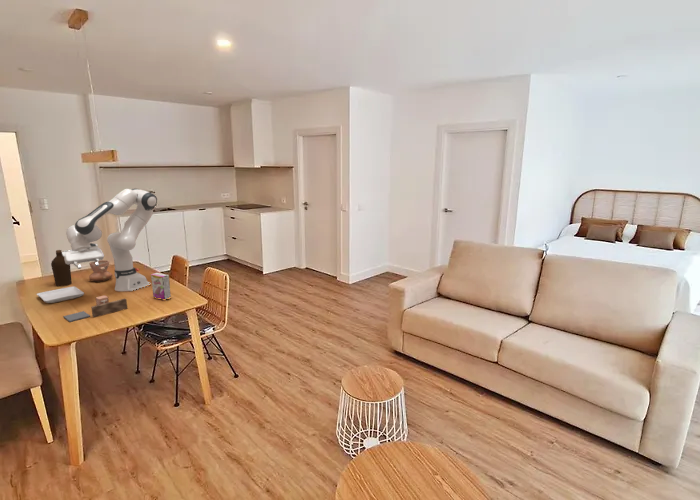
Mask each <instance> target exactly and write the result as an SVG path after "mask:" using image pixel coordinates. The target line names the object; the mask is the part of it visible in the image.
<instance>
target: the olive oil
mask: <svg viewBox="0 0 700 500" xmlns="http://www.w3.org/2000/svg"><path fill="white" fill-rule="evenodd" d="M62 252H63V251H62V249H57V250H55V254H56V255H55V257H54V258H53V259H52V260H51V263H50V267H51V270H52V274H53V279H54V284H55V286H56V287H68V286H70V285H72V284H73V283H72V273H71V264H69V265H67V264H66V263H65V260H64V257H63V255H62Z"/></svg>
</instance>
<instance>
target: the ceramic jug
mask: <svg viewBox="0 0 700 500" xmlns="http://www.w3.org/2000/svg"><path fill="white" fill-rule="evenodd" d="M95 263H97V262H96V261H90V262H89V266H90V269H91V270H92V271H93V272H92V273H91V274H90V275H89V277H88V279H89V280H90V281H91V282H95V283H96V282H97V283H98V282H99V283H100V282H102V283H103V282H106V281H108V280H111V279H112V278H113V273H111V272H110V271H108V268H109V265H110V261H109V260H105V259H102V260H99V261H98V263H99V266H95Z"/></svg>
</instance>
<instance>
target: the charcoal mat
mask: <svg viewBox="0 0 700 500" xmlns="http://www.w3.org/2000/svg"><path fill="white" fill-rule="evenodd" d="M63 318H64V320H66V321H67V322H69V323H72V322H75V321H81V320H83V319H87V318H91V315H90V314H88V313H87V312H86V311H84V310H83V311H79V312H74V313H72V314H67V315H63Z"/></svg>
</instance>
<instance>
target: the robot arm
mask: <svg viewBox="0 0 700 500" xmlns="http://www.w3.org/2000/svg"><path fill="white" fill-rule="evenodd" d="M157 203H158V198H157V196H156V195H155V194H154V193H152V192H149V191H148V190H144V189H140V188H132V189H131V188H124V189H123V190H121V191H120V192H118V193H117V194H116V195H115V196H113V198H112V199H110V200H108V201H105V202H103V203H101V204H100V205H98V206H96V208H95V209H93V210H92V211H90V212H89V213H88V214H86V215H85V216H83V217H81V218H78V220H77V221H76V222H75V223H74V224H73V225H70V226H69V227H68V228H66V229H65V230H66V231H65V235H66V238H67V240H68V243H69V244H70V248H71V249H68V250H67V249H66V250H63V251H61V252H62V255H63V257H64V260H65V263H66V264H67V265H69V264H70V265H73V266H74V267H76V268H77V270H81V269H82V266H81V264H82V263H88V262H89V263H90V262H92V261H96V262H97V263H95V266H99V263H98V261H99V260H104V257H105V254H104V252H103V251H102V248H100V247H99V244H98V243H94V242H96V241H98V240H100V239H101V238H102V235H103V232H102V230H101V229H100V227H98V226H97V222H99V220H101V219H102V218H103V217H104V216H106V215H109V214H111V215H115V216H122V215H123V214H125V213H126V212H127V211H128V210H130V208H131V207H132V206H133V205H134V204H135V205H136V207H135V208H136V209H135V210H134V211H133V212H132V214H131V215H130V216H129V217H127V219H126V221H124V226H123V228H122V230H121V232H119V231H117V232H112V233H110V234H109V235H108V236H107V240H106V241H107V243H108V245H109V248H110V252H111V254H112V258H113V264H114V278H115V286H114V290H115V291H116V292H133V290H134V291H137V290H140V289H139V288H141V289H143V288H142V287H144V288H146V287H145V286H147V285H150V284H151V285H152V282H150V281H148V279H147V278H146V276H145V275H143V274H141V273H139V271H140V268H138V267H134V261H133V256H132V254H131V251H132V250H133V249H134V248H135V246H136V243H137V242H136V241H137V240H138V237H139V235H140V233H141V231H142V230H143V229H144V228H145V226H146V225H147V224H148V222H149V221H150V220H151V218H152V216H153V214H154V210H153V209H155V207H156V205H157ZM92 242H93V243H92ZM149 283H150V284H149ZM147 287H148V286H147ZM136 289H137V290H136Z"/></svg>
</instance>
